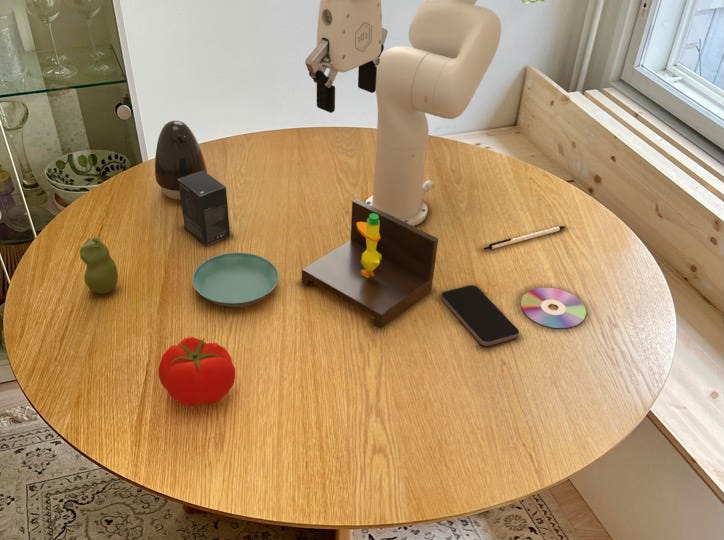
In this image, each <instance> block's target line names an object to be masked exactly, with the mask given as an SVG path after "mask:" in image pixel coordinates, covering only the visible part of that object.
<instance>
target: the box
mask: <svg viewBox="0 0 724 540" xmlns="http://www.w3.org/2000/svg"><path fill="white" fill-rule="evenodd" d="M178 184H179V191H180V198H181V200H180V204H181V205H180V206H181V212H182V219H183V226H184V227H183V228H184V229H185V230H187V232H189V233H190V234H191V235H192V236H194V237H195V238H196V239H197V240H198V241H199V242H201V244H203V245H204V246H209V245H211V244H215V243H217V242H220V241H222V240H224V239H228V238H230V236H231V228H230V218H229V217H230V216H229V206H228V195H227V193H228V192H227V187H226V186H225V185H224V184H222V183H221V182H220V181H218V180H217V179H216V178H214V177H213V176H212V175H210V174H209V173H208V172H207V173H206V172H205V171H200V172H197V173H194V174H191V175H188V176H185V177H181V178H179V179H178Z"/></svg>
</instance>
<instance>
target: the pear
mask: <svg viewBox="0 0 724 540" xmlns="http://www.w3.org/2000/svg"><path fill="white" fill-rule="evenodd" d="M79 257H80V259H81V261H82V262H84V264H85V265H86V269H85V272H84V277H83V278H84V283H85V285H86V287H87V288H88V289H89V290H90V291H92V292H93V293H95V294H100V295H101V294H108V293H111V292H112V291H113V290H114V289H115V288H116V287H117V284H118V280H119V274H118V268H117V265H116V262H115V260H113V258H112V257H111V255H110V251H109V248H108V247H107V244H104V242H103V240H102V239H101V238H100V237H94V238H93V237H89V238H88V239H87V240H86V241H85V242H84V243H83V245H82V246H80V250H79Z"/></svg>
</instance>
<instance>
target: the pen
mask: <svg viewBox="0 0 724 540" xmlns="http://www.w3.org/2000/svg"><path fill="white" fill-rule="evenodd" d="M563 229H566V226H565V225H564V226H562V225H561V226H560V225H559V226H555V227H550V228H547V229H543V230H539V231H537V232H532V233H529V234H525V235H521V236H517V237H514V238H506V239H503V240H499V241H496V242H492V243H489V245H488V246H486V247H484V248H483V250H484V251H485V250H494V249H498V248H501V247H505V246H509V245H512V244H516V243H520V242H523V241H528V240H531V239H534V238H539V237H543V236H545V235H549V234H552V233H556V232H559V231H561V230H563Z"/></svg>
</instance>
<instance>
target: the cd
mask: <svg viewBox="0 0 724 540" xmlns="http://www.w3.org/2000/svg"><path fill="white" fill-rule="evenodd" d="M550 305H554V306H556V307H557V309H555V310H554V309H551V308H549V306H550ZM520 307H521V311H522V312H523V313H524V314H525V315H526V316H527V317H528V319H530V320H532V321H533V322H535V323H537V324H539V325H540V326H545V327H549V328H552V329H568V328H573V327H576V326H578V325H580V324H581V323H582V322H583V321H584V320H585V318H586V316H587V315H586V314H587V310H586V307H585V304H584V303H583V302H582V301H581V300H580V299H579V298H578V297H577V296H576V295H574V294H572V293H570V292H568V291H566V290H563V289H558V288H555V287H537V288H534V289H530V290H529V291H528V292H526V293H524V294H523V295H522V298H521V299H520Z"/></svg>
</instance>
